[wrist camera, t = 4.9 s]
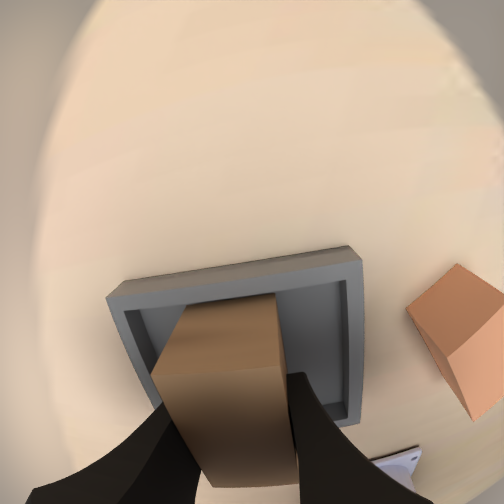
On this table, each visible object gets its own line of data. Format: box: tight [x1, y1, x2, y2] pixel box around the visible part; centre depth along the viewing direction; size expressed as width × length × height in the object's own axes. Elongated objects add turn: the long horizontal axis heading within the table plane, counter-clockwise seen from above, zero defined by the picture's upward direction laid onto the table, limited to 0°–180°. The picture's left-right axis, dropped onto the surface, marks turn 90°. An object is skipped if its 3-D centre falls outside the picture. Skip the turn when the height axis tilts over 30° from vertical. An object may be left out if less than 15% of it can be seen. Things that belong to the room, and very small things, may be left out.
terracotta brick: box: [406, 264, 504, 422], centre depth 10 cm, size 6×3×4 cm, turn 40°
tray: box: [106, 246, 364, 428], centre depth 12 cm, size 8×9×2 cm
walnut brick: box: [151, 293, 299, 488], centre depth 9 cm, size 6×3×4 cm, turn 10°
